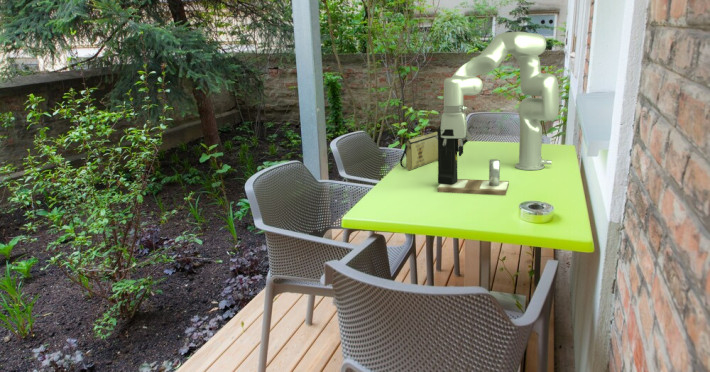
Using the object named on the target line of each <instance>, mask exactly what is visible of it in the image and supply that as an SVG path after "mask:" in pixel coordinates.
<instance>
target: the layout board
mask: <svg viewBox="0 0 710 372" xmlns="http://www.w3.org/2000/svg"><path fill="white" fill-rule="evenodd" d="M509 183H510V181H509V180H499V186H489V179H470V178H469V179H467V178H466V179H465V178H458V180H457V182H456V183H455V184H453V185H449V184H439V185H438V186H437V193H448V194H449V193H450V194H453V193H454V194H471V195H493V196H507V192H508V188H509Z"/></svg>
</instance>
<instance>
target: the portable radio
mask: <svg viewBox="0 0 710 372" xmlns="http://www.w3.org/2000/svg"><path fill="white" fill-rule="evenodd" d="M440 127H441V122H439V127H438V128H437V131H436V132H437V133H438V161H437V184H439V185H440V184H449V185H453V184H455V183H456V182H457V180H458V179H459V177H458V153H459V146H458V139H454V138H453V139H446V145H445V143H444V146H443V141H444V138H441V136H454V133H453V129H445V130H444V132H443V134H442V135H441V131H443V130H441V129H440ZM445 146H446V147H447V155H446V156H445Z"/></svg>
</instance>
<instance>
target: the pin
mask: <svg viewBox="0 0 710 372" xmlns="http://www.w3.org/2000/svg"><path fill="white" fill-rule="evenodd" d="M488 161H489V166H488V169H489V171H488V180H489V186H499V181H501V180H500V176H501V175H500V172H501V171H500V170H501V168H500V167H501V159H498V158H495V159H493V158H492V159H489V160H488Z"/></svg>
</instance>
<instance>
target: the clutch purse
mask: <svg viewBox="0 0 710 372" xmlns="http://www.w3.org/2000/svg"><path fill="white" fill-rule="evenodd" d="M437 134H438V133H437V131H434V132H431V133H428V134H424V135H420V136H416V137H413V138H410V139H407V140H406V141H405V144H404V151H403V153H402V155H401V157H400V162H399V164H400V166H401V168H405V166H404V164H403V159H404V157H405V160H406V169H407V171H409V172H410V171H412V170H415V169H417V168H420V167H423V166H425V165H428V164H431V163H434V162H436V161H437V162H438V140H437V139H436V138H435V136H436V135H437Z"/></svg>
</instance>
